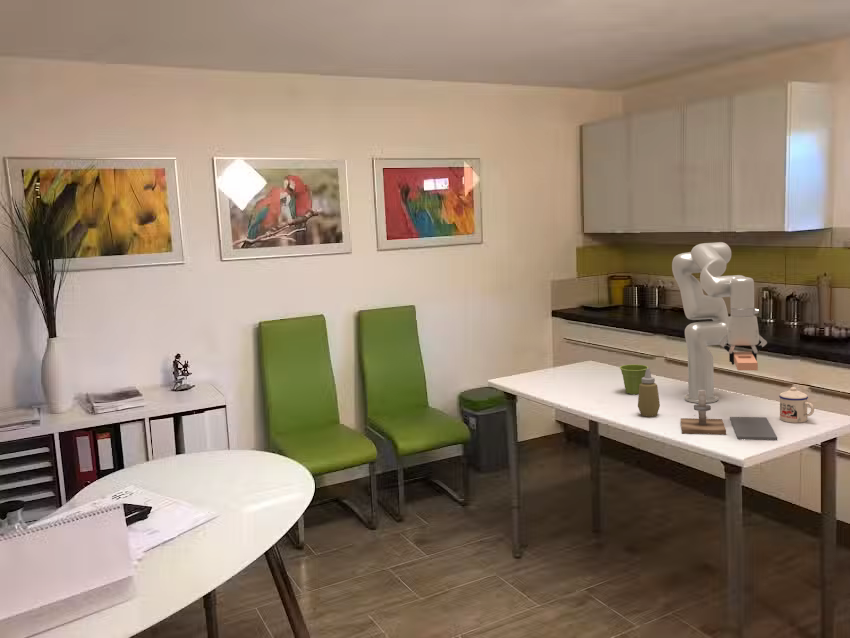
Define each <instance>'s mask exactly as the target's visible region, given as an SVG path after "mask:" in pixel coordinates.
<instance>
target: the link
mask: <svg viewBox="0 0 850 638" xmlns="http://www.w3.org/2000/svg"><path fill="white" fill-rule="evenodd" d="M733 353H734V365H735V367H736V370H737V371H758V370H759V367H758V361H756V359H755V357H754V356H753V354H752V351H733Z"/></svg>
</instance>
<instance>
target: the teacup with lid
mask: <svg viewBox="0 0 850 638" xmlns="http://www.w3.org/2000/svg"><path fill="white" fill-rule="evenodd" d="M778 397H779V420H781V422H782V421H783V422H786V423H791V424H794V423H795V424H797V423H800V424H801V423H806V422H807V421H808V417H811V416H812V415H813V414H814V412H815V407H814V404H813V403H811V402H808V399H809V397H808V394H806V393H804V392H802V391H800V390H798V389H797V387H796V386H795V387H794V386H792V387H790V388H789V390H786V391H783V392H781V393H780V394H779V395H778ZM808 406H809V408H810V412H809V413H808Z"/></svg>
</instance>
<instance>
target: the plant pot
mask: <svg viewBox="0 0 850 638" xmlns="http://www.w3.org/2000/svg"><path fill="white" fill-rule="evenodd" d="M647 368H649V366H647V365H644V364H639V363H638V364H634V363H633V364H631V363H630V364H623V365H620V366H619V370H621V375H622V378H623V384H624V385H623V386H624V389H625V393H626V392H627V393H626V394H628V393H630V394H629V395H633V394H635V395H639V385H640V384H641V383H642V378H643V377H645V372H646V369H647Z"/></svg>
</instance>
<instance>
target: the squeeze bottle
mask: <svg viewBox="0 0 850 638" xmlns="http://www.w3.org/2000/svg"><path fill="white" fill-rule="evenodd" d="M660 406H661V403H660V396H659V387H658V384H657V383H656V382H655V377H653V376H652V374H651V370H650V368H649V367H648V368H647V369H646V372H645V377H643V378H642V383H641V384H640V385H639V394H638V398H637V408H638V410H639V414H640V415H641V416H643V417H650V418H652V417H656V416H658V413H659V410H660Z"/></svg>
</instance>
